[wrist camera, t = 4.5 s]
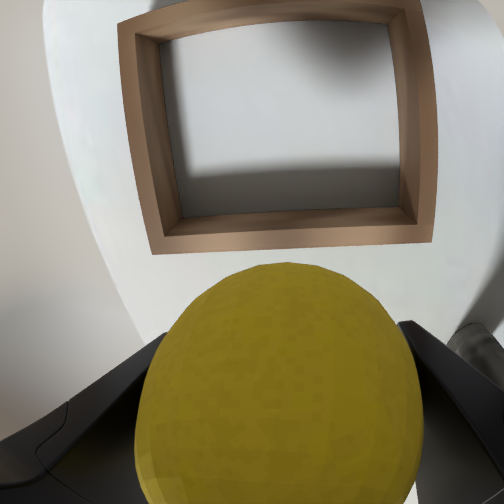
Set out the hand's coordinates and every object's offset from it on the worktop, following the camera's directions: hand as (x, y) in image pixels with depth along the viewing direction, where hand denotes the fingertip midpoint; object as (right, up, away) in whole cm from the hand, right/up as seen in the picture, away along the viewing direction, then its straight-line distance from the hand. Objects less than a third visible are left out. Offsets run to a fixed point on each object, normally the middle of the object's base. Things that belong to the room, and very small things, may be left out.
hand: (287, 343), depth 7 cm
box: (+1, +10, +7) cm, 12 cm away
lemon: (0, +1, +2) cm, 2 cm away
